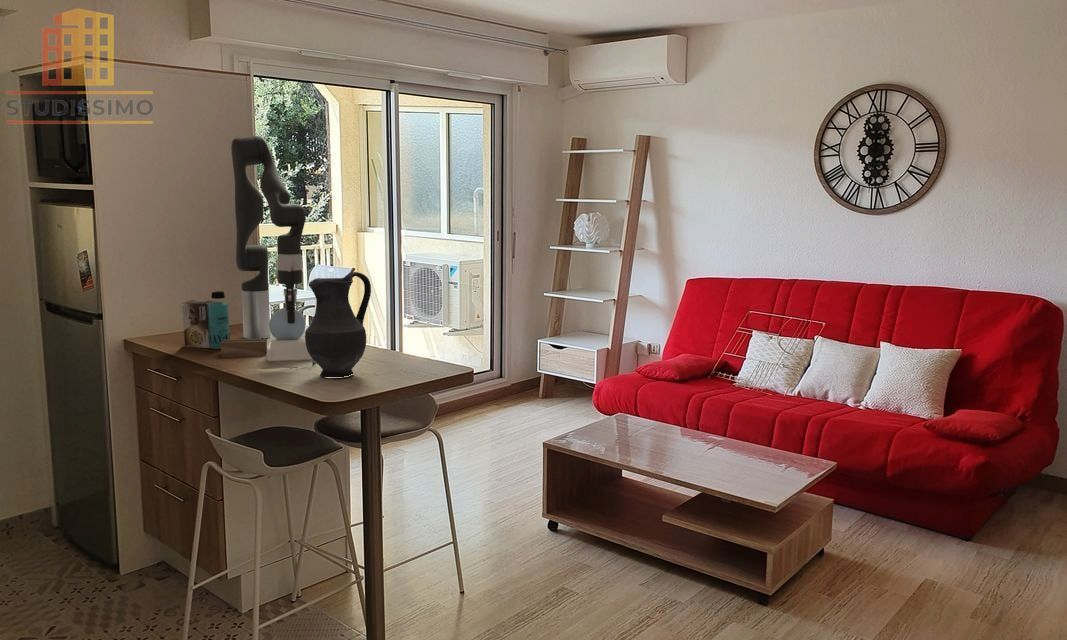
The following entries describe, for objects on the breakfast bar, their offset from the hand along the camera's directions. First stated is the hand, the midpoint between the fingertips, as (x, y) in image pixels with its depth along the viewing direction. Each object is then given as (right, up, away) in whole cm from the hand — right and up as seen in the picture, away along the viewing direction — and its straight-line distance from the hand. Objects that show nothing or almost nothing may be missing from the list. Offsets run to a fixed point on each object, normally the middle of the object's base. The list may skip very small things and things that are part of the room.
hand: (291, 322), depth 264 cm
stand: (-16, -11, +3) cm, 20 cm away
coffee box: (-35, -9, +16) cm, 39 cm away
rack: (0, -12, +2) cm, 12 cm away
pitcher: (+20, -15, -17) cm, 31 cm away
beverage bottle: (-27, -10, +13) cm, 31 cm away
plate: (-2, -6, 0) cm, 7 cm away
